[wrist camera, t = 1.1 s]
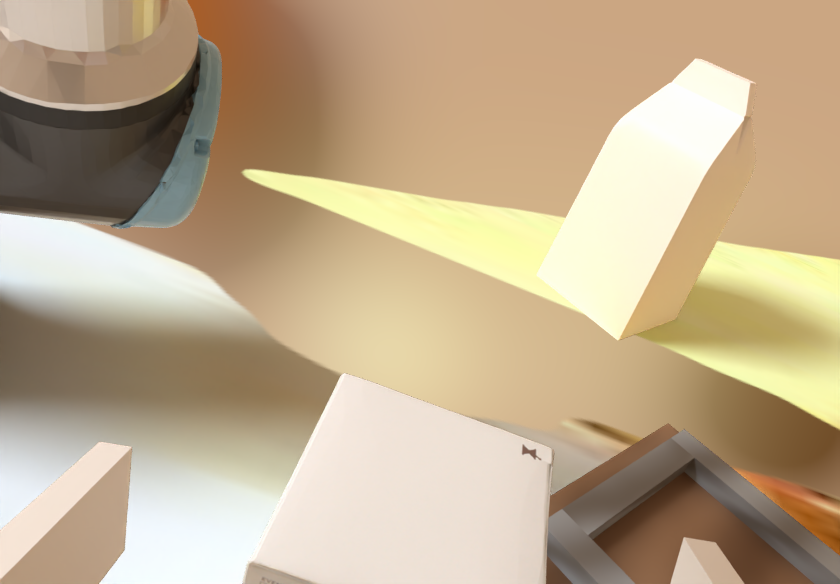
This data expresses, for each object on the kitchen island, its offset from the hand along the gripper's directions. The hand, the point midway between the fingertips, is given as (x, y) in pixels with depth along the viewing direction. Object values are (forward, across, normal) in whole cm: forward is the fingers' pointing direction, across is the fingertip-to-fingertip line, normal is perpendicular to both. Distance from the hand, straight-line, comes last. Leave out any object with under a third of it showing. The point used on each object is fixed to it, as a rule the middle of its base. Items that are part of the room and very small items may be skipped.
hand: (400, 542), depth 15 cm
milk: (+59, +21, -5) cm, 63 cm away
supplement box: (+12, -1, -18) cm, 22 cm away
